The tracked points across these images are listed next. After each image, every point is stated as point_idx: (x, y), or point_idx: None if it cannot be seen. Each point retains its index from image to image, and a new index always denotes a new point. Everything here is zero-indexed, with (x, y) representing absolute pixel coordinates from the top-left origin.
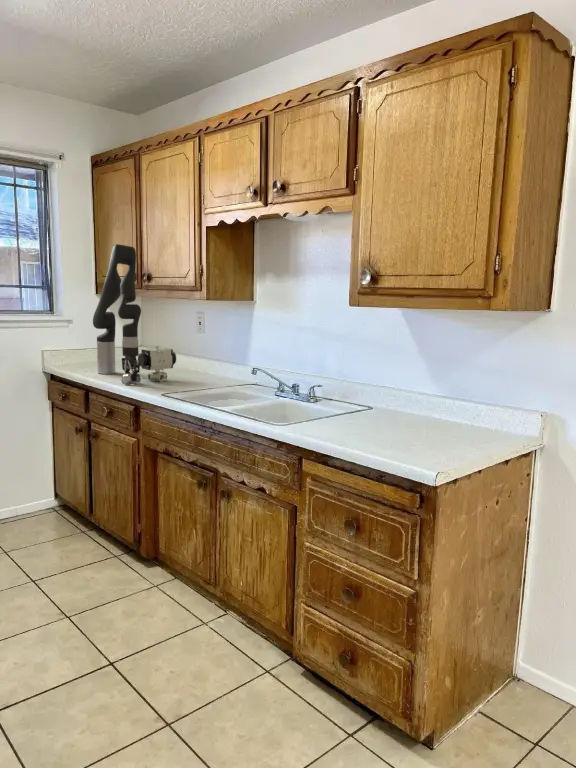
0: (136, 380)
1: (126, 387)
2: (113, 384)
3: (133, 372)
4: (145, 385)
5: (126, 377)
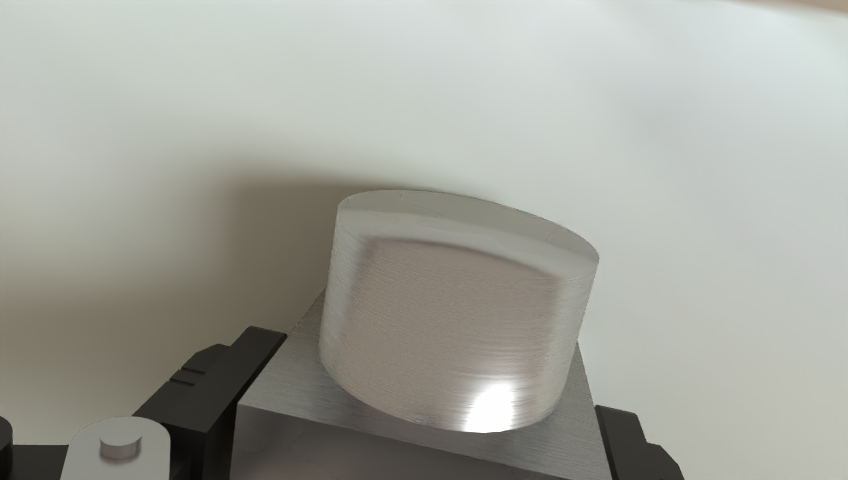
0: None
1: (144, 7)
2: (715, 66)
3: (74, 447)
4: None
5: (342, 262)
